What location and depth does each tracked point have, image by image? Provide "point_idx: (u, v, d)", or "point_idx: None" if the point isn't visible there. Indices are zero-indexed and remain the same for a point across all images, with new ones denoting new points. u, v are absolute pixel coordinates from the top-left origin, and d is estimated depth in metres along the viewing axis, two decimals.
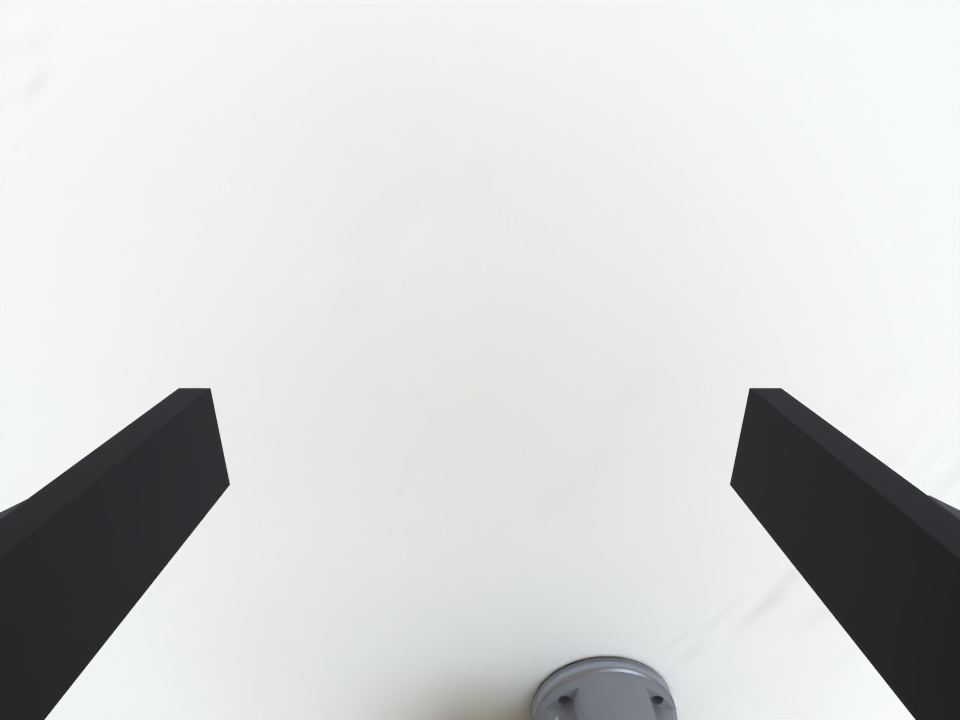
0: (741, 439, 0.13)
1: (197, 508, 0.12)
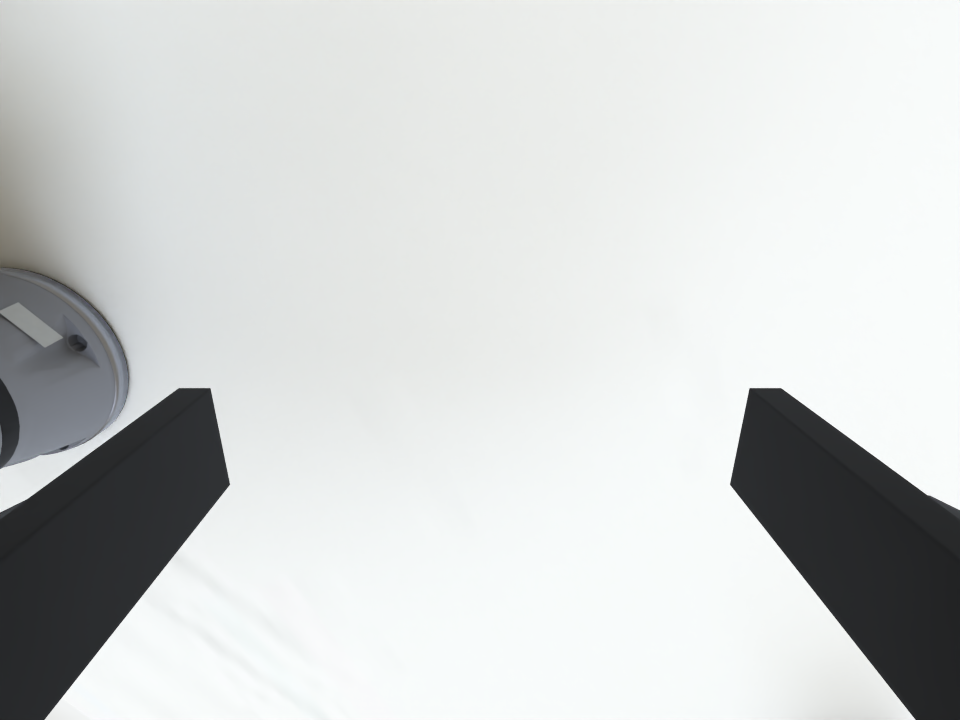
0: (741, 439, 0.13)
1: (196, 508, 0.12)
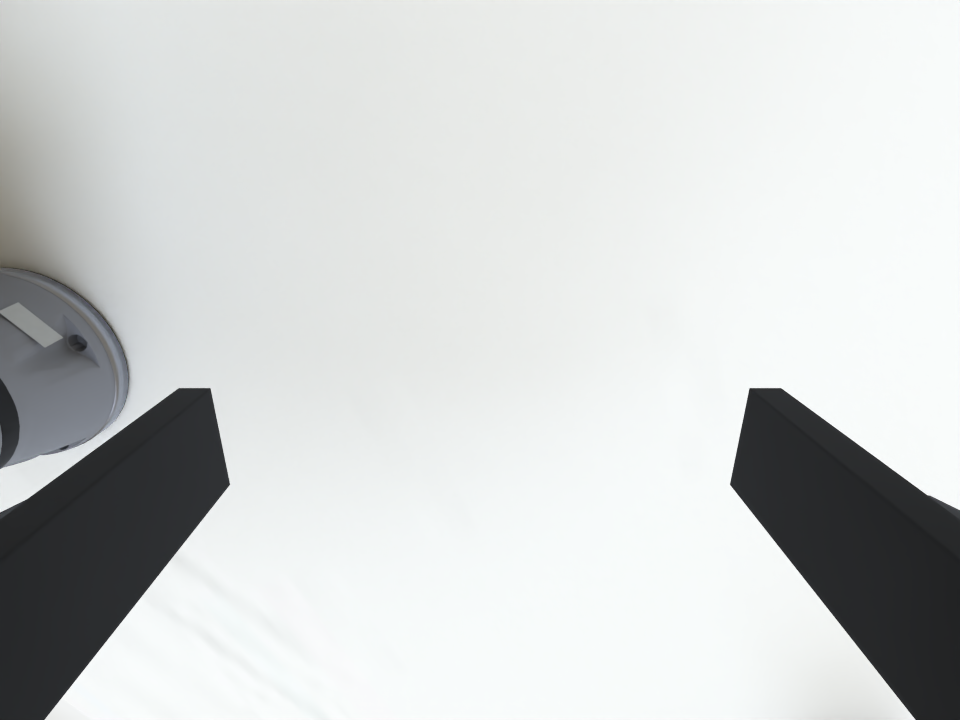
0: (741, 439, 0.13)
1: (196, 508, 0.12)
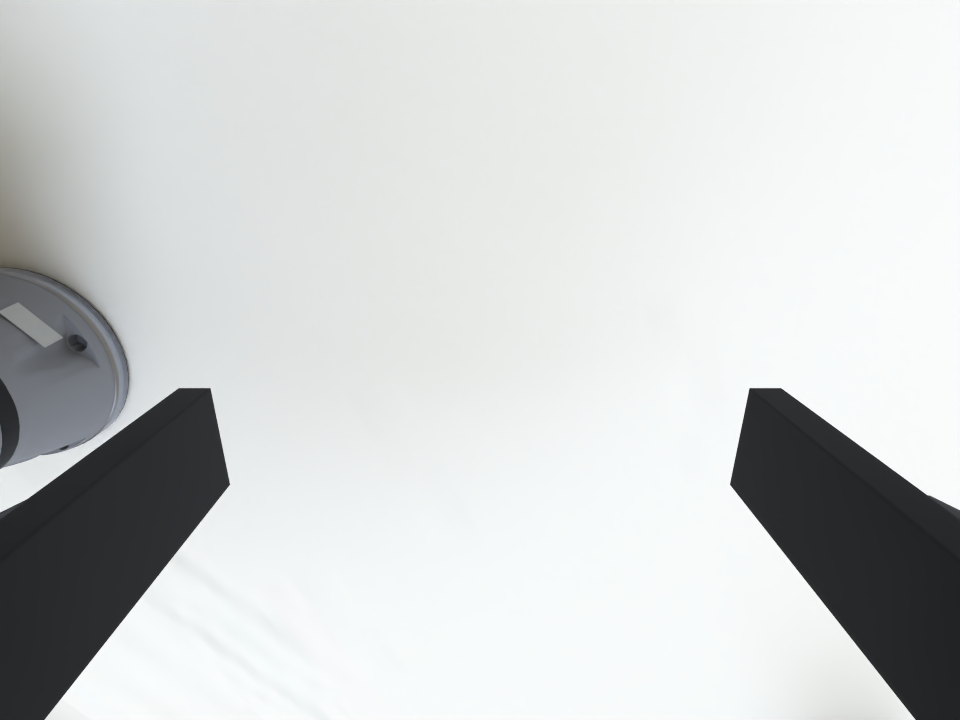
0: (741, 439, 0.13)
1: (196, 508, 0.12)
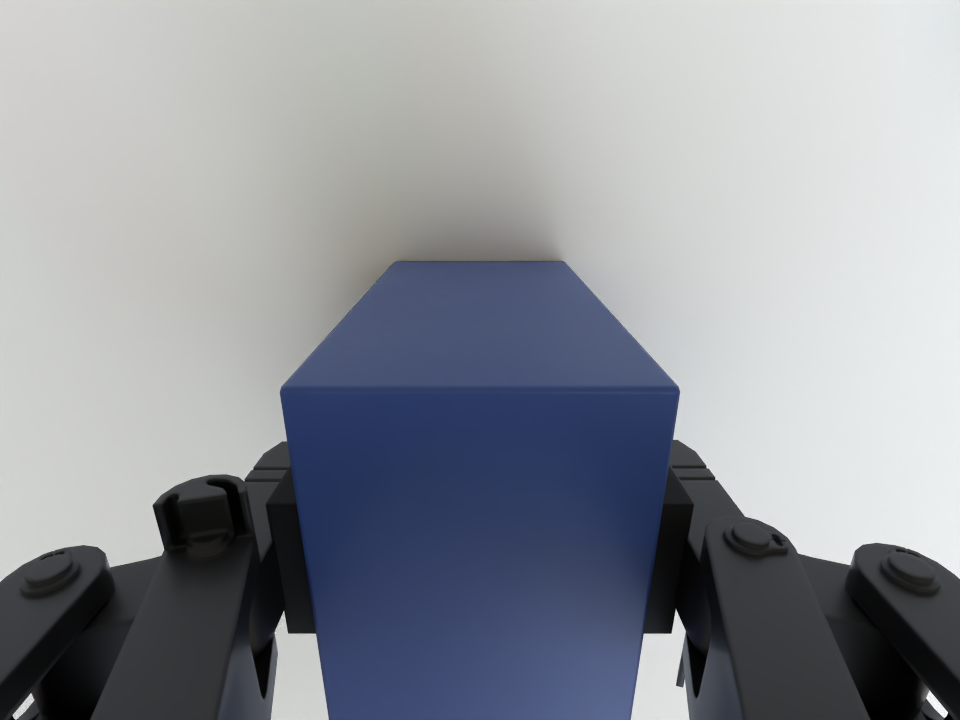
0: None
1: None
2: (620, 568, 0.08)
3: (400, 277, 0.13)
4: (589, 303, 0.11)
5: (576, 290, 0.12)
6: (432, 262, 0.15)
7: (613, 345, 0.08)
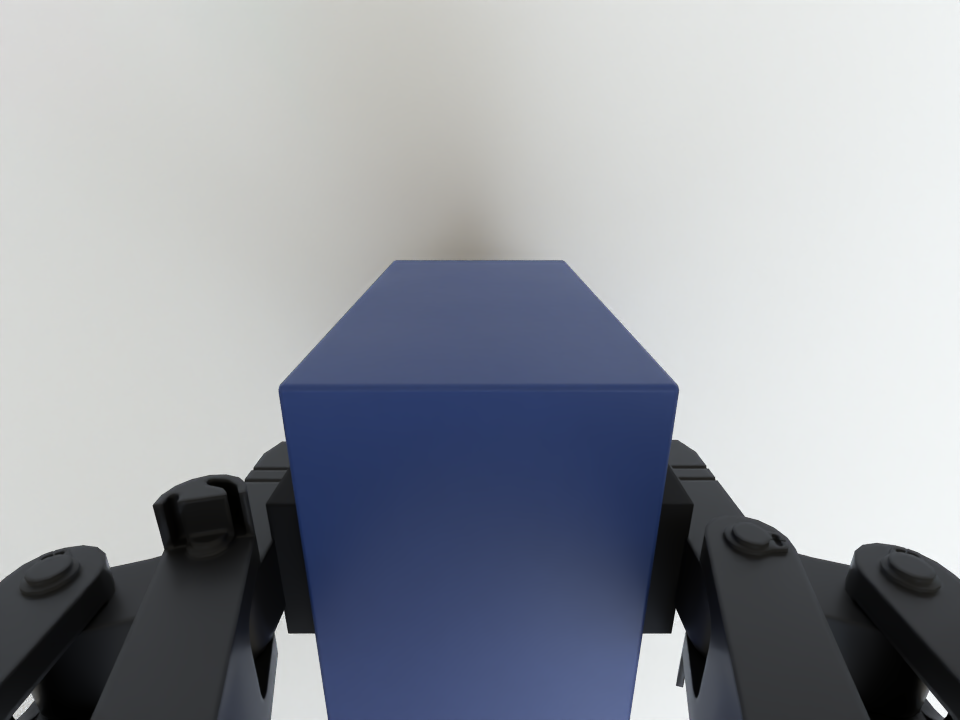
0: None
1: None
2: (619, 567, 0.08)
3: (399, 276, 0.13)
4: (588, 302, 0.11)
5: (575, 289, 0.12)
6: (432, 261, 0.15)
7: (612, 343, 0.08)
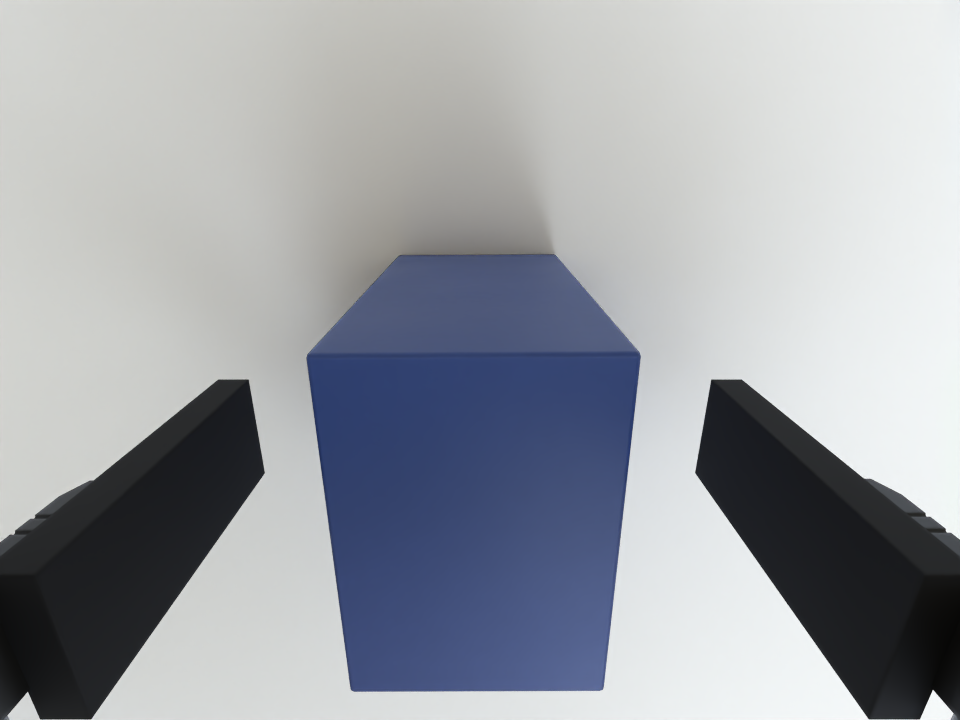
0: (704, 428, 0.13)
1: (237, 494, 0.12)
2: (595, 510, 0.09)
3: (404, 269, 0.15)
4: (573, 289, 0.12)
5: (563, 279, 0.13)
6: (433, 256, 0.17)
7: (589, 322, 0.09)
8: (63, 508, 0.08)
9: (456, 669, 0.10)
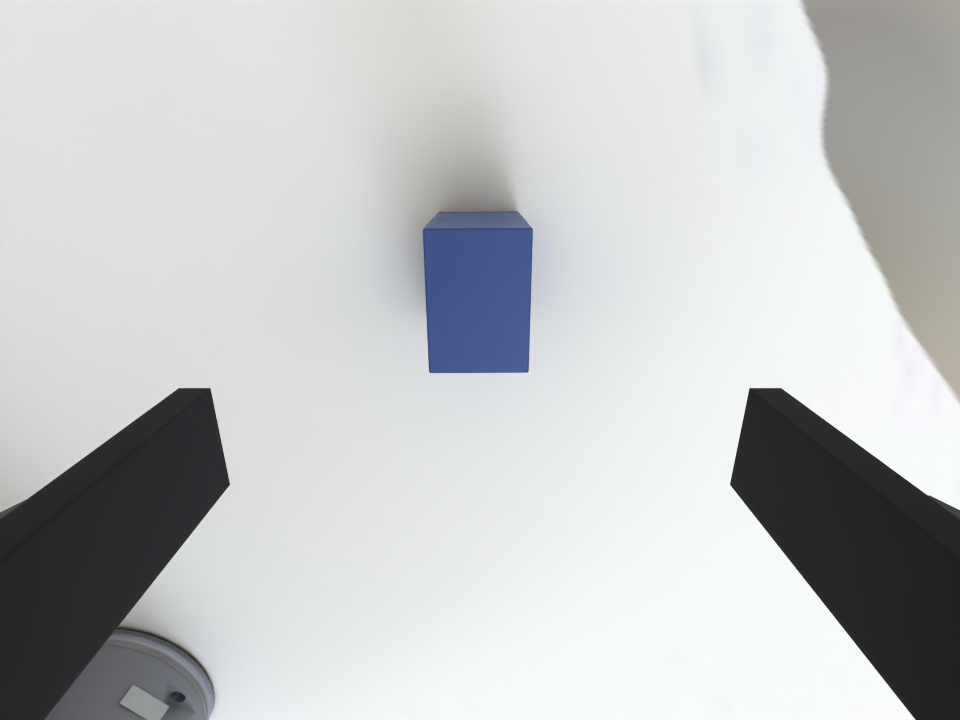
0: (741, 439, 0.13)
1: (196, 508, 0.12)
2: (520, 288, 0.25)
3: (444, 215, 0.31)
4: (519, 219, 0.28)
5: (517, 217, 0.29)
6: (456, 212, 0.33)
7: (520, 224, 0.26)
8: None
9: (470, 361, 0.27)
